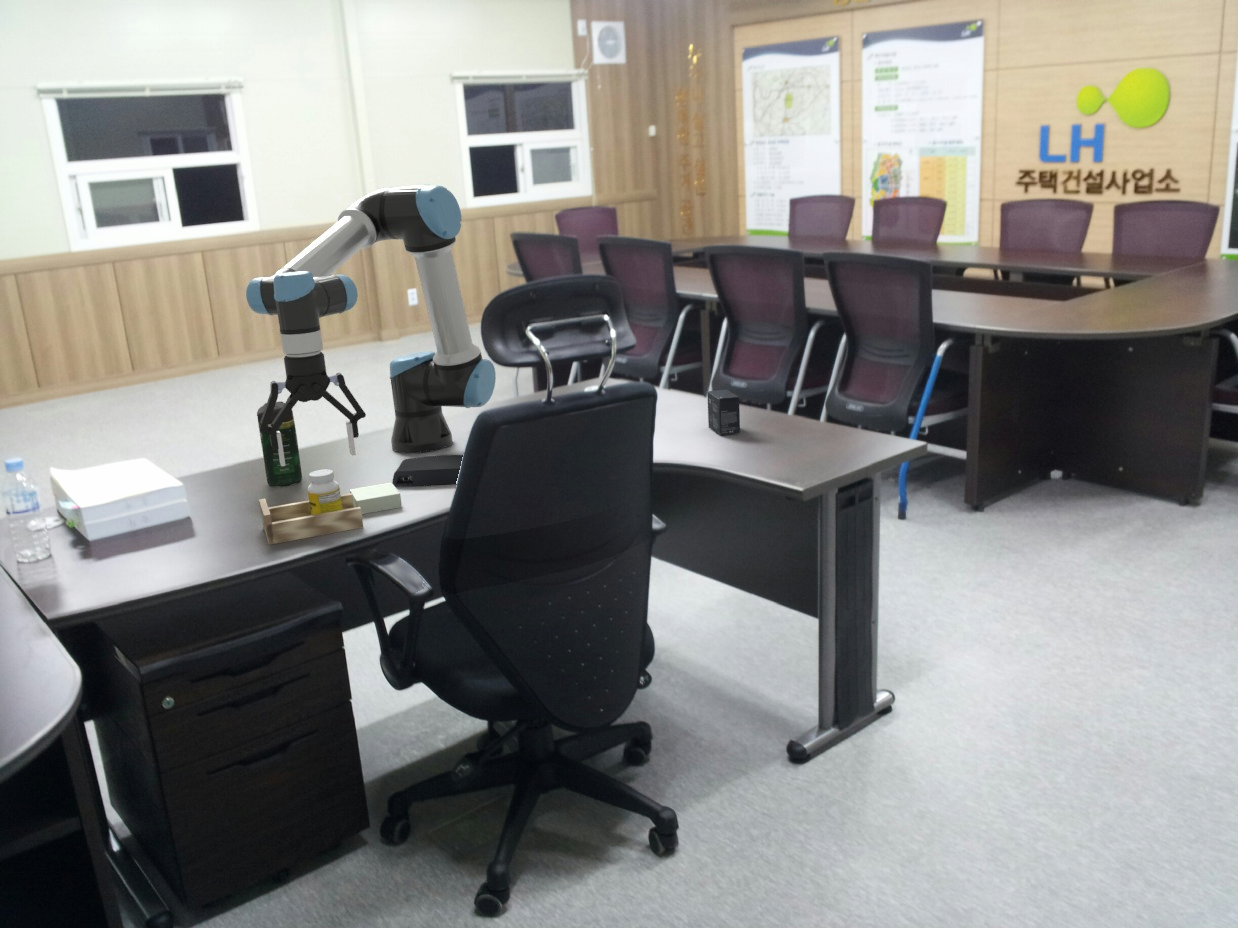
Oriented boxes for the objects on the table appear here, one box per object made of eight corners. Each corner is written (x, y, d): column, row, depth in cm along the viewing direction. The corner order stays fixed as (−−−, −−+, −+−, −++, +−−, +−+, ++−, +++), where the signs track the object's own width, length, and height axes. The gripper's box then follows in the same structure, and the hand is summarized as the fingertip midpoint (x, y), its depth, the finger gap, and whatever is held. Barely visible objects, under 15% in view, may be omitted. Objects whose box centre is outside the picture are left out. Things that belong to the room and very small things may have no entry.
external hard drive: (403, 472, 252) (401, 456, 251) (485, 468, 252) (484, 451, 251) (391, 490, 240) (388, 472, 239) (477, 485, 239) (476, 468, 238)
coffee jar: (304, 485, 246) (292, 406, 241) (268, 490, 244) (255, 410, 238) (302, 474, 255) (290, 397, 249) (267, 479, 253) (255, 401, 247)
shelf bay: (353, 511, 226) (350, 483, 224) (363, 527, 216) (359, 498, 214) (263, 527, 219) (258, 499, 218) (268, 544, 209) (264, 515, 207)
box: (741, 433, 265) (740, 396, 263) (719, 436, 264) (718, 398, 262) (728, 425, 274) (727, 388, 271) (707, 427, 273) (706, 391, 270)
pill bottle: (311, 522, 220) (303, 471, 217) (342, 517, 222) (335, 466, 219) (314, 532, 215) (306, 479, 212) (346, 526, 217) (338, 474, 214)
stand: (393, 495, 235) (391, 482, 234) (401, 506, 226) (400, 493, 226) (351, 502, 231) (349, 489, 230) (358, 514, 223) (356, 501, 222)
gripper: (365, 343, 216) (377, 445, 222) (234, 358, 207) (251, 464, 213) (371, 348, 210) (384, 453, 215) (237, 364, 201) (254, 473, 207)
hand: (318, 459), depth 214 cm, fingers open, 13 cm apart
